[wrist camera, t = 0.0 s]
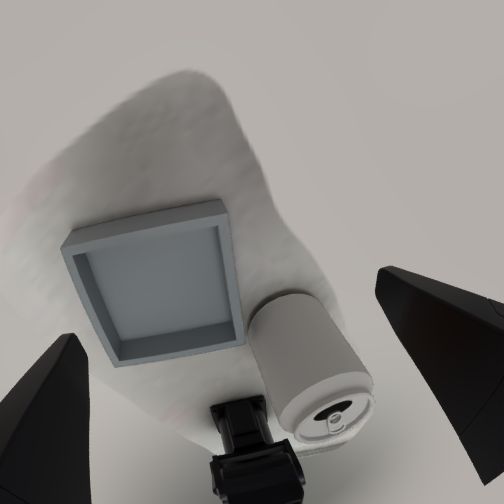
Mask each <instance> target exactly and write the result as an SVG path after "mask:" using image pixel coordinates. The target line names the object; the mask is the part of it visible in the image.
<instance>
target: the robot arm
mask: <svg viewBox="0 0 504 504" xmlns="http://www.w3.org/2000/svg"><path fill="white" fill-rule="evenodd" d="M375 295H376V298H377V300H378V302H379V304H380V306H381V307H382V309H383V311H384V313H385V315H386V317H387V318H388V320H389V322H390V324H391V326H392V328H393V330H394V332H395V334H396V335H397V337H398V338H399V340H400V342H401V343H402V345H403V346H404V348H405V349H406V351H407V352H408V354H409V355H410V357H411V358H412V360H413V362H414V363H415V365H416V366H417V368H418V369H419V371H420V373H421V374H422V376H423V377H424V379H425V381H426V382H427V384H428V386H429V387H430V389H431V390H432V392H433V394H434V395H435V397H436V399H437V400H438V402H439V404H440V405H441V407H442V409H443V411H444V412H445V414H446V416H447V417H448V419H449V421H450V423H451V424H452V426H453V428H454V430H455V431H456V433H457V435H458V436H459V439H460V441H461V443H462V444H463V446H464V448H465V450H466V452H467V454H468V456H469V458H470V459H471V461H472V463H473V465H474V467H475V469H476V471H477V473H478V475H479V477H480V479H481V481H482V483H483V484H484V486H485V485H487V484H488V483H490V482H491V481H492V480H493V479H495V478H496V477H498V476H499V475H500V474H502V473H503V472H504V304H503V303H500V302H497V301H494V300H492V299H487V298H486V297H483V296H480V295H478V294H475V293H472V292H469V291H466V290H463V289H460V288H457V287H454V286H451V285H448V284H445V283H443V282H439V281H437V280H434V279H431V278H428V277H425V276H422V275H419V274H416V273H412V272H409V271H406V270H403V269H400V268H397V267H394V266H387V267H383V268H380V269H379V271H378V274H377V281H376V287H375ZM210 411H211V414H212V417H213V419H214V422H215V424H216V427H217V429H218V432H219V433H220V434H221V437H222V441H223V446H224V450H225V454H224V455H219V456H217V455H215V456H212V458H213V461H212V462H210V468H211V473H212V486H213V493H214V494H215V495H217V496H219V498H220V499H221V500H222V502H223V504H303V498H304V490H303V487H302V486H304V485H305V478H304V474H303V470H302V468H301V465H300V463H299V461H298V459H297V457H296V455H295V453H294V451H293V449H292V447H291V444H290V442H289V440H288V438H287V439H284V440H283V441H279V442H275V443H274V441H273V438H272V435H271V432H270V429H269V427H268V424H267V422H268V420H267V411H266V402H265V397H264V396H257V397H253V398H249V399H245V400H240V401H236V402H231V403H227V404H222V405H217V406H212V407H211V408H210ZM89 420H90V397H89V371H88V356H87V354H86V352H85V350H84V348H83V346H82V345H81V343H80V341H79V339H78V337H77V336H76V335H75V334H74V333H68V334H62V335H61V336H60V337H59V338H58V339H57V340H56V341H55V342H54V343H53V344H52V345H51V346H50V347H49V348H48V349H47V350H46V351H45V352H44V354H43V355H42V356H41V357H40V358H39V359H38V360H37V361H36V362H35V363H34V365H33V366H32V367H31V368H30V369H29V370H28V371H27V372H26V373H25V374H24V376H23V377H22V378H21V379H20V380H19V381H18V382H17V384H16V385H15V386H14V387H13V388H12V389H11V391H10V392H9V393H8V394H7V395H6V397H5V398H4V399H3V400H2V401H1V402H0V504H92V503H91V491H90V490H91V489H90V469H89Z"/></svg>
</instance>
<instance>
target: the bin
mask: <svg viewBox="0 0 504 504" xmlns="http://www.w3.org/2000/svg"><path fill="white" fill-rule="evenodd" d="M60 250H61V252H62V255H63V258H64V260H65V263H66V266H67V268H68V271H69V273H70V276H71V278H72V281H73V283H74V286H75V288H76V290H77V293H78V295H79V297H80V300H81V302H82V304H83V306H84V308H85V311H86V313H87V315H88V317H89V319H90V321H91V323H92V325H93V327H94V330H95V332H96V334H97V336H98V338H99V339H100V341H101V343H102V345H103V347H104V349H105V351H106V353H107V355H108V357H109V358H110V360H111V362H112V364H113V366H114V367H115V368H117V367H124V366H131V365H138V364H145V363H151V362H157V361H163V360H169V359H175V358H180V357H186V356H191V355H196V354H201V353H207V352H211V351H216V350H221V349H226V348H230V347H235V346H239V345H244V344H246V341H245V334H244V327H243V320H242V313H241V306H240V299H239V292H238V285H237V278H236V271H235V263H234V256H233V249H232V241H231V233H230V226H229V218H228V213H227V211H226V209H225V207H224V205H223V203H222V201H221V199H219V200H213V201H208V202H202V203H197V204H191V205H186V206H181V207H176V208H170V209H165V210H160V211H156V212H151V213H146V214H141V215H137V216H132V217H127V218H123V219H118V220H114V221H109V222H105V223H101V224H97V225H92V226H88V227H84V228H80V229H76V230H72V231H71V233H70V234H69V236H68V237H67V238H66V240H65V242H64V243H63V245H62V246H61V248H60Z"/></svg>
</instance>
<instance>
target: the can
mask: <svg viewBox="0 0 504 504" xmlns="http://www.w3.org/2000/svg"><path fill="white" fill-rule="evenodd" d="M248 336H249V342H250V345H251V348H252V350H253V353H254V356H255V359H256V362H257V364H258V367H259V370H260V373H261V375H262V378H263V381H264V384H265V386H266V389H267V392H268V395H269V397H270V400H271V403H272V405H273V408H274V411H275V413H276V416H277V419H278V421H279V424H280V426H281V427H282V428H283V429H284V430H285V431H287V432H290V433H293V434H294V438H295V439H296V440H297V441H298V442H300V443H305V444H317V443H322V442H326V441H329V440H332V439H334V438H337V437H339V436H341V435H343V434H345V433H347V432H349V431H350V430H352V429H353V428H355V427H356V426H358V425H359V424H360V423H361V422H362V421H363V420H364V419H366V418H367V416H368V415H369V414H370V412H371V411H372V410H373V407H374V404H375V399H374V396H373V395H372V394H371V392H372V389H373V385H374V384H373V380H372V377H371V375H370V374H369V372H368V371H367V369H366V368H365V366H364V365H363V363H362V362H361V360H360V359H359V358H358V356H357V355H356V353H355V352H354V350H353V349H352V347H351V346H350V344H349V343H348V342H347V340H346V339H345V337H344V336H343V334H342V333H341V331H340V330H339V329H338V327H337V326H336V324H335V323H334V321H333V320H332V319H331V317H330V316H329V314H328V313H327V311H326V310H325V309H324V307H323V306H322V304H321V303H320V302H319V301H318V300H317V299H315V298H314V297H312V296H309V295H306V294H289V295H285V296H281V297H278V298H276V299H275V300H273V301H271V302H269V303H267V304H266V305H265V306H264V307H262V308H261V309H260V310H259V311H258V312H257V313H256V315H255V316H254V318H253V319H252V321H251V322H250V326H249V330H248Z"/></svg>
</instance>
